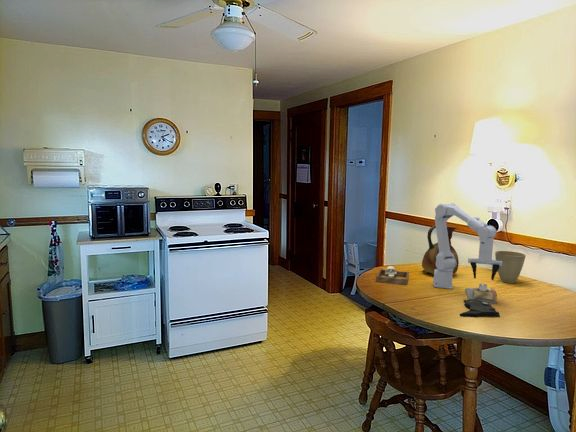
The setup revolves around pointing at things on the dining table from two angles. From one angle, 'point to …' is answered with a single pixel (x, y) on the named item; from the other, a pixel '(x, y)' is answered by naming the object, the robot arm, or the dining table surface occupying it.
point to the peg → (483, 287)
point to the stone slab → (479, 309)
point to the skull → (391, 272)
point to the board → (470, 296)
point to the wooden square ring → (482, 294)
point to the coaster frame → (393, 280)
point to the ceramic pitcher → (437, 251)
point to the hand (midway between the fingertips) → (483, 278)
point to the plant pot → (510, 265)
